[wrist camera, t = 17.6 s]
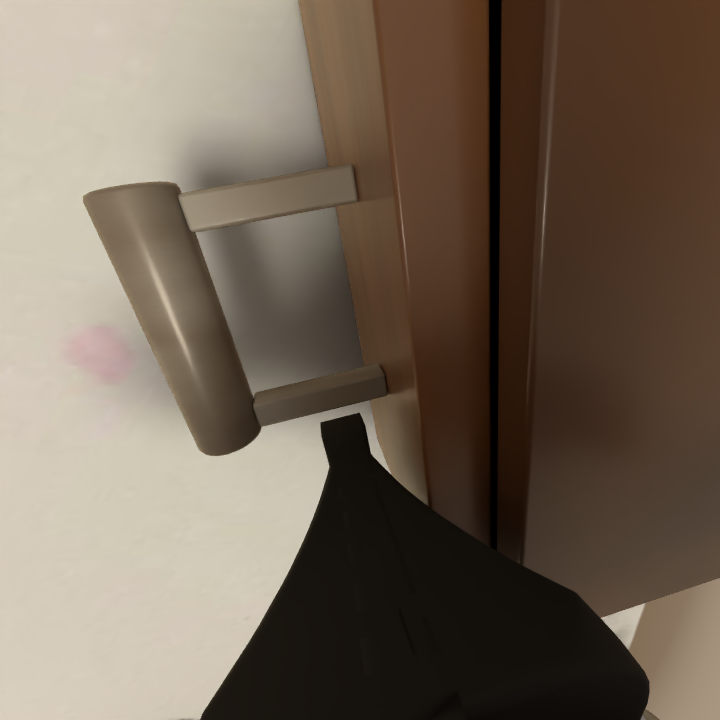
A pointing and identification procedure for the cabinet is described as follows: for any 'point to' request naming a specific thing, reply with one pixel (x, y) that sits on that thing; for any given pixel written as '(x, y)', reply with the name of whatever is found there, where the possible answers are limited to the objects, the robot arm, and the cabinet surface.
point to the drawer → (358, 249)
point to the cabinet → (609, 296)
